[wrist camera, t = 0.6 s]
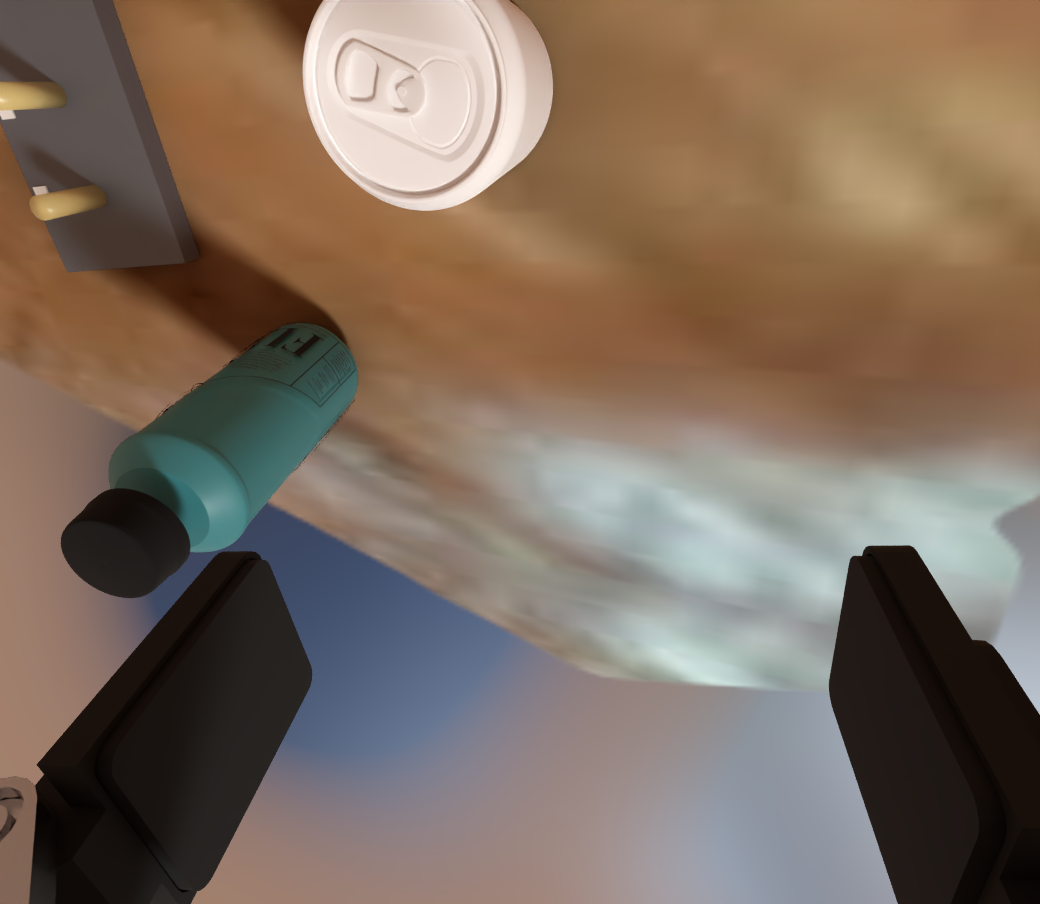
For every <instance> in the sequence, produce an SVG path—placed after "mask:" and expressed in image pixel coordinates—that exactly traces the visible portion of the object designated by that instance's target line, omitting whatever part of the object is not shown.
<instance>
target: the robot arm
mask: <svg viewBox="0 0 1040 904" xmlns="http://www.w3.org/2000/svg"><path fill="white" fill-rule="evenodd" d="M311 681H312V669H311V665H310V663H309V660H308V658H307V655H306V653H305V650H304V648H303V645H302V643H301V640H300V638H299V636H298V633H297V631H296V628H295V626H294V623H293V621H292V618H291V616H290V613H289V611H288V609H287V606H286V604H285V601H284V599H283V596H282V594H281V591H280V589H279V586H278V584H277V582H276V579H275V577H274V574H273V572H272V570H271V567H270V565H269V563H268V562H267V561H265V560H262V559H261V557H260V555H259V554H257V553H256V552H252V551H245V552H244V551H243V552H242V551H240V552H221V553H218V555H216V556H215V557H214V558H213V559H212V560H211V562H210V563H209V564H208V565H207V566H206V568H204V570H203V571H202V572H201V573H200V574H199V576H198V577H197V578H196V579H195V580H194V581H193V583H192V584H191V585H190V586H189V587H188V588H187V590H186V591H185V592H184V593H183V594H182V595H181V597H180V598H179V599H178V600H177V601H176V602H175V604H174V605H173V606H172V607H171V608H170V609H169V611H168V612H167V613H166V614H165V615H164V616H163V618H162V619H161V620H160V621H159V622H158V623H157V625H156V626H155V627H154V628H153V629H152V630H151V632H150V633H149V634H148V635H147V636H146V638H145V639H144V640H143V641H142V642H141V643H140V645H139V646H138V647H137V648H136V649H135V650H134V651H133V653H132V654H131V655H130V656H129V657H128V659H127V660H126V661H125V662H124V663H123V664H122V666H121V667H120V668H119V669H118V670H117V672H116V673H115V674H114V675H113V676H112V677H111V678H110V680H109V681H108V682H107V683H106V684H105V685H104V687H103V688H102V689H101V690H100V691H99V693H98V694H97V695H96V696H95V697H94V698H93V699H92V701H91V702H90V703H89V704H88V706H87V707H86V708H85V709H84V710H83V711H82V712H81V713H80V715H79V716H78V717H77V718H76V719H75V720H74V722H73V723H72V724H71V725H70V726H69V728H68V729H67V730H66V731H65V732H64V733H63V735H62V736H61V737H60V738H59V739H58V740H57V742H56V743H55V744H54V745H53V746H52V747H51V749H50V750H49V751H48V752H47V753H46V754H45V756H44V757H43V758H42V759H41V760H40V761H39V763H38V764H37V766H38V767H39V768H40V770H41V771H42V772H43V773H44V775H43V777H42V778H41V779H40V780H39V781H38V783H37V784H36V785H34V784H33V783H31V781H29V780H28V779H27V778H21V777H15V776H14V777H8V778H1V779H0V904H191V902H192V900H193V898H194V896H195V894H196V892H197V891H200V890H201V889H203V888H204V887H205V886H206V885H207V884H208V883H209V881H210V880H211V878H212V877H213V874H214V873H215V871H216V869H217V867H218V865H219V863H220V861H221V859H222V857H223V855H224V853H225V851H226V849H227V847H228V845H229V844H230V842H231V840H232V838H233V836H234V834H235V832H236V830H237V828H238V826H239V824H240V822H241V820H242V818H243V816H244V814H245V812H246V810H247V809H248V806H249V805H250V803H251V801H252V799H253V797H254V795H255V793H256V791H257V789H258V787H259V785H260V783H261V781H262V779H263V777H264V775H265V773H266V771H267V770H268V768H269V766H270V764H271V762H272V760H273V758H274V756H275V754H276V752H277V750H278V748H279V746H280V744H281V742H282V740H283V739H284V737H285V735H286V733H287V731H288V729H289V727H290V725H291V723H292V721H293V719H294V717H295V715H296V713H297V711H298V709H299V707H300V705H301V704H302V702H303V700H304V698H305V696H306V694H307V692H308V690H309V688H310V685H311ZM829 693H830V700H831V704H832V708H833V711H834V714H835V717H836V720H837V723H838V726H839V729H840V732H841V735H842V738H843V741H844V744H845V747H846V749H847V753H848V756H849V759H850V762H851V765H852V767H853V770H854V774H855V777H856V780H857V783H858V786H859V789H860V792H861V795H862V798H863V800H864V804H865V807H866V810H867V813H868V816H869V819H870V822H871V825H872V827H873V831H874V834H875V837H876V840H877V843H878V846H879V849H880V852H881V855H882V858H883V861H884V864H885V866H886V870H887V873H888V875H889V879H890V881H891V885H892V888H893V891H894V894H895V896H896V900H897V902H898V904H1040V715H1039V713H1038V711H1037V710H1036V709H1035V707H1034V705H1033V704H1032V702H1031V701H1030V699H1029V698H1028V696H1027V695H1026V693H1025V692H1024V690H1023V689H1022V687H1021V686H1020V684H1019V683H1018V681H1017V680H1016V678H1015V676H1014V675H1013V673H1012V672H1011V670H1010V669H1009V668H1008V666H1007V664H1006V663H1005V661H1004V660H1003V658H1002V657H1001V655H1000V654H999V653H998V652H997V650H996V649H995V648H994V647H993V646H992V645H991V644H989V643H987V642H986V641H982V640H972V639H971V637H970V636H969V634H968V633H967V631H966V629H965V628H964V626H963V625H962V623H961V621H960V620H959V618H958V617H957V615H956V613H955V612H954V610H953V609H952V607H951V605H950V604H949V602H948V600H947V599H946V597H945V596H944V594H943V592H942V591H941V589H940V588H939V586H938V584H937V583H936V581H935V580H934V578H933V576H932V575H931V573H930V572H929V570H928V568H927V567H926V565H925V564H924V562H923V560H922V559H921V557H920V556H919V554H918V552H917V551H916V550H915V549H914V547H912V546H867V547H866V548H865V549H864V551H863V555H862V556H853V557H852V558H851V559H850V562H849V568H848V573H847V579H846V585H845V591H844V597H843V603H842V609H841V615H840V620H839V626H838V632H837V638H836V644H835V650H834V656H833V662H832V667H831V673H830V679H829Z"/></svg>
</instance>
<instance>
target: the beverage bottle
mask: <svg viewBox="0 0 1040 904" xmlns="http://www.w3.org/2000/svg"><path fill="white" fill-rule="evenodd" d="M293 323H296V324H290V325H284V326H280V327H281V328H279V327H278V326H277V328H279V329H277V330H275V331H274V330H273V331H274V332H273V333H271V332H272V331H271V330H270V331H271V332H270V333H271V334H270V335H268V334H269V333H268V334H267V335H268V336H267V337H266V338H264V337H265V336H266V335H265V336H264V335H263V336H264V337H261V339H262V338H264V339H263V340H261V339H260V338H259V339H258V340H259V341H260V340H261V341H260V342H259V341H258V340H256V341H255V342H257V341H258V343H257V344H256V345H255V344H254V343H252V344H254V345H255V346H254V345H253V346H252V347H251V348H250V349H249V350H248V351H247V352H245V353H244V354H242V355H241V354H240V355H241V356H240V357H238V358H236V356H235V360H231V361H230V363H229V364H228V365H226V364H225V365H226V367H225V368H223V369H222V370H220V371H219V372H218V373H216V374H215V375H214V376H212V377H211V378H209V379H208V380H207V381H205V382H204V383H198V384H201V385H199V387H198V386H197V388H196V389H194V390H193V391H192V389H191V392H190V393H189V394H186V395H185V397H184V398H183V397H182V399H181V400H180V399H179V400H180V401H179V400H178V402H177V403H175V404H174V405H172V407H171V406H170V407H171V408H170V407H169V408H168V409H166V410H165V412H164V411H163V410H164V409H163V410H162V411H163V412H164V413H163V414H162V415H161V416H159V415H160V414H159V415H158V416H159V417H158V416H157V417H158V418H157V419H155V420H154V421H153V422H151V423H150V424H149V425H147V426H146V427H145V428H143V429H142V430H141V431H139V432H138V433H136V434H134V435H132V436H130V437H128V438H127V439H126V440H124V441H123V442H122V443H121V444H120V445H119V446H118V447H117V448H116V449H115V451H114V453H113V455H112V457H111V459H110V463H109V483H110V490H107V491H104V492H103V493H101V494H100V495H98V496H97V497H96V498H95V499H93V500H92V501H91V502H90V503H89V504H88V505H87V506H86V507H85V509H84V510H83V511H82V512H81V513H80V514H79V515H78V516H77V517H76V518H75V519H73V520H72V521H71V522H70V523H69V524H68V525H67V527H66V528H65V530H64V531H63V533H62V537H61V548H62V552H63V554H64V557H65V559H66V561H67V562H68V564H69V565H70V567H71V568H72V569H73V571H74V572H75V573H76V574H77V575H78V576H79V577H80V578H82V579H83V580H84V581H85V582H87V583H88V584H89V585H91V586H93V587H94V588H96V589H98V590H100V591H102V592H104V593H107V594H110V595H113V596H117V597H123V598H137V597H142V596H144V595H147V594H149V593H150V592H152V591H153V590H155V589H156V588H157V587H158V586H159V585H160V584H161V583H162V582H163V581H164V580H166V579H167V578H168V577H169V576H170V575H172V574H173V573H175V572H176V571H177V570H178V569H179V568H180V567H181V566H182V565H183V564H184V562H185V561H186V560H187V559H188V556H189V554H190V552H209V551H215V550H219V549H222V548H225V547H227V546H229V545H231V544H232V543H234V542H235V541H236V540H237V539H238V538H239V537H240V536H241V535H242V533H243V532H244V531H245V529H246V526H247V525H248V524H249V523H250V522H251V520H252V519H253V518H254V517H255V516H256V514H257V513H258V512H259V511H260V510H261V508H262V507H263V506H264V505H265V504H266V502H267V501H268V500H269V499H270V498H271V496H272V495H273V494H274V493H275V492H276V490H277V489H278V488H279V487H280V486H281V484H282V483H283V482H284V481H285V480H286V479H287V477H288V476H289V475H290V474H291V473H292V471H293V470H294V469H295V468H296V467H297V465H298V464H299V463H300V464H301V463H302V462H301V461H302V460H303V459H305V458H306V457H307V455H308V454H309V453H310V452H311V450H312V449H313V448H314V447H315V446H316V444H317V443H318V442H319V441H321V440H320V439H322V438H323V437H324V436H325V435H326V434H325V433H326V432H328V431H329V432H330V427H331V426H333V425H334V424H335V423H336V422H335V421H336V420H337V419H339V418H340V417H342V415H341V414H342V413H344V412H345V411H346V410H347V409H346V408H347V407H348V406H350V405H351V404H352V403H351V402H352V400H353V398H354V396H355V394H356V390H357V385H358V370H357V365H356V362H355V360H354V358H353V355H352V354H351V352H350V350H349V349H348V348H347V346H346V345H345V344H344V343H343V342H342V341H341V339H339V338H338V337H337V336H336V335H335V334H333V333H332V332H330V331H329V330H327V329H325V328H323V327H320V326H318V325H314V324H309V323H297V322H293ZM286 324H287V323H286ZM282 325H283V324H282ZM252 344H251V345H252ZM251 345H250V346H251ZM248 347H249V346H248ZM248 347H247V348H248ZM244 350H246V348H245V349H244ZM244 350H243V351H244ZM241 352H242V351H241ZM237 356H238V355H237ZM223 367H224V366H223ZM195 385H196V384H195ZM192 388H193V387H192ZM183 394H184V393H183ZM354 401H355V400H354ZM350 403H351V404H350ZM353 403H354V402H353ZM349 404H350V405H349ZM352 405H353V404H352ZM345 409H346V410H345ZM344 410H345V411H344ZM348 410H349V409H348ZM346 412H347V411H346ZM346 412H345V413H346ZM340 415H341V416H340ZM344 415H345V414H344ZM340 420H341V419H340ZM338 422H339V420H338ZM338 422H337V423H338ZM337 423H336V424H337ZM336 424H335V425H336ZM326 437H327V436H326ZM326 437H325V438H326ZM325 438H324V439H325ZM322 441H323V440H322ZM319 443H320V442H319ZM319 445H320V444H319ZM316 448H318V447H316ZM314 451H315V450H314ZM300 464H299V465H300ZM296 469H298V467H297V468H296ZM296 469H295V470H296ZM295 470H294V471H295Z"/></svg>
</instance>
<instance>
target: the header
mask: <svg viewBox="0 0 1040 904" xmlns="http://www.w3.org/2000/svg"><path fill="white" fill-rule="evenodd" d="M0 123H1V126H2V128H3V130H4V132H5V135H6V137H7V139H8V141H9V143H10V146H11V148H12V150H13V152H14V155H15V157H16V159H17V161H18V164H19V166H20V168H21V170H22V172H23V175H24V177H25V179H26V181H27V184H28V186H29V188H30V190H31V193H32V195H33V197H31V198H30V201H29V206H30V209H31V211H32V212H33V214H34V215H35V216H36V217H37V218H39V219H41V220H44V221H45V224H46V226H47V228H48V230H49V233H50V235H51V237H52V239H53V242H54V244H55V246H56V248H57V250H58V253H59V255H60V257H61V259H62V262H63V264H64V266H65V268H66V270H67V272H78V271H91V270H104V269H117V268H129V267H142V266H155V265H168V264H181V263H187V262H189V261H192V260H194V259H197V258H199V257H200V255H199V252H198V249H197V246H196V244H195V241H194V238H193V235H192V232H191V229H190V226H189V223H188V220H187V217H186V214H185V211H184V209H183V206H182V203H181V200H180V197H179V194H178V191H177V188H176V185H175V182H174V179H173V176H172V173H171V171H170V168H169V165H168V162H167V159H166V156H165V153H164V150H163V147H162V144H161V141H160V138H159V136H158V133H157V130H156V127H155V124H154V121H153V118H152V115H151V112H150V109H149V106H148V103H147V101H146V98H145V95H144V92H143V89H142V86H141V83H140V80H139V77H138V74H137V71H136V68H135V66H134V63H133V60H132V57H131V54H130V51H129V48H128V45H127V42H126V39H125V36H124V33H123V30H122V28H121V25H120V22H119V19H118V16H117V13H116V10H115V7H114V4H113V1H112V0H0Z"/></svg>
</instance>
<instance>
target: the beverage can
mask: <svg viewBox="0 0 1040 904" xmlns="http://www.w3.org/2000/svg"><path fill="white" fill-rule="evenodd" d="M303 87H304V94H305V100H306V104H307V108H308V112H309V115H310V118H311V121H312V123H313V126H314V128H315V131H316V133H317V135H318V137H319V139H320V141H321V143H322V144H323V146H324V148H325V149H326V151H327V152H328V154H329V155H330V157H331V158H332V159H333V160H334V162H335V163H336V164H337V165H338V166H339V168H340V169H341V170H342V171H343V172H344V173H345V174H346V175H347V176H349V177H350V178H351V179H352V180H353V181H354V182H355V183H356V184H357V185H359V186H360V187H361V188H363V189H364V190H365V191H367V192H368V193H370V194H371V195H373V196H375V197H376V198H378V199H380V200H382V201H384V202H387V203H389V204H392V205H395V206H398V207H402V208H406V209H412V210H423V211H427V210H440V209H445V208H449V207H453V206H456V205H459V204H461V203H463V202H465V201H467V200H469V199H471V198H473V197H474V196H476V195H478V194H479V193H480V192H482V191H483V190H484V189H486V188H487V187H488V186H490V185H491V184H492V183H494V182H495V181H496V180H497V179H499V178H500V177H501V176H503V175H504V174H505V173H507V172H508V171H509V170H511V169H512V168H513V167H514V166H516V165H517V164H518V163H520V162H521V161H522V160H523V159H524V158H525V157H526V156H527V155H528V154H529V153H530V152H531V150H532V149H533V148H534V147H535V145H536V144H537V142H538V141H539V139H540V137H541V135H542V133H543V131H544V129H545V126H546V124H547V121H548V118H549V114H550V110H551V104H552V96H553V79H552V70H551V64H550V60H549V56H548V53H547V50H546V47H545V45H544V42H543V40H542V38H541V36H540V34H539V33H538V31H537V29H536V28H535V26H534V25H533V23H532V22H531V21H530V19H529V18H528V17H527V16H526V15H525V14H524V13H523V12H522V11H521V10H520V9H519V8H518V7H517V6H516V5H515V4H513V3H512V2H511V1H509V0H323V1H322V3H321V5H320V6H319V8H318V10H317V12H316V14H315V16H314V18H313V20H312V23H311V25H310V28H309V31H308V34H307V38H306V43H305V48H304V55H303Z"/></svg>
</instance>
